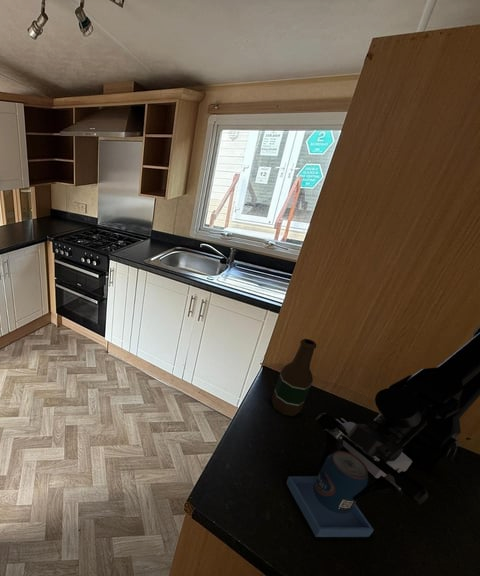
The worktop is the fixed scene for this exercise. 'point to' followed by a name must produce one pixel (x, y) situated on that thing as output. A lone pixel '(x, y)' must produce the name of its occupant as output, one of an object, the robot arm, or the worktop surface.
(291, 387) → the beer bottle
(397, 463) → the charger
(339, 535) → the blue tray
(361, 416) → the worktop surface
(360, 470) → the soda can
